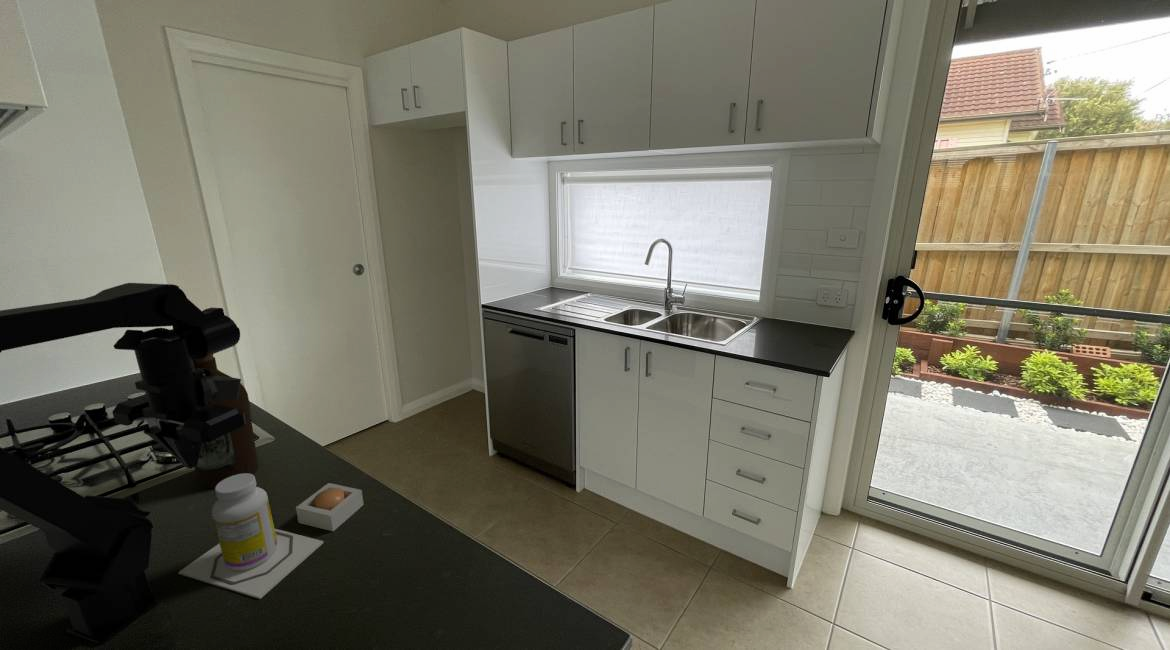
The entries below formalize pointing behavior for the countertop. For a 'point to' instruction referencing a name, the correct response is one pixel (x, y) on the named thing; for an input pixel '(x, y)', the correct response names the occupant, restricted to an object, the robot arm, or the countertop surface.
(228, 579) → the paper sheet
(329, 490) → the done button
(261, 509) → the supplement bottle
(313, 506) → the button housing
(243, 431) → the olive oil
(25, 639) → the countertop surface
